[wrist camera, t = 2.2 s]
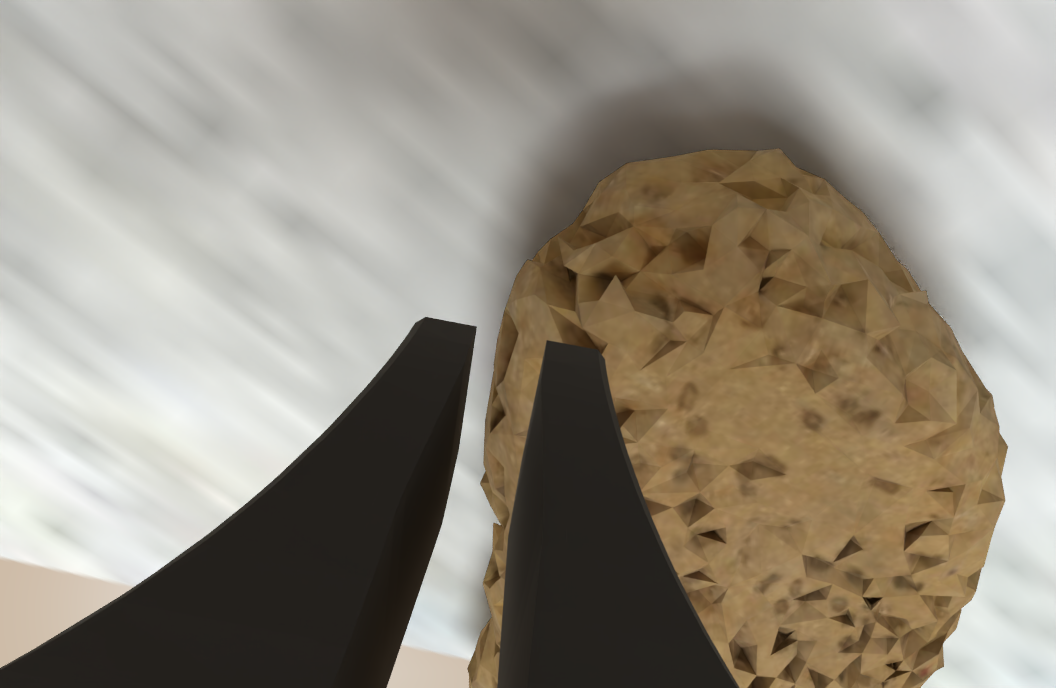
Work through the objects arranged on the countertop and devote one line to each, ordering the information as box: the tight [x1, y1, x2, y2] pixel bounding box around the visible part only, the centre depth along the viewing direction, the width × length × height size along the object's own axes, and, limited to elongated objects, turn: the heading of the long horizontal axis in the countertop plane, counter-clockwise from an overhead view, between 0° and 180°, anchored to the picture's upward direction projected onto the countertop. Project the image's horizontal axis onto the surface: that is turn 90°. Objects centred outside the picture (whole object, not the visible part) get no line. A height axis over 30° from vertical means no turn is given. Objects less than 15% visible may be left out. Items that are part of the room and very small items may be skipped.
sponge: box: [468, 148, 1008, 688], centre depth 22 cm, size 13×8×20 cm
